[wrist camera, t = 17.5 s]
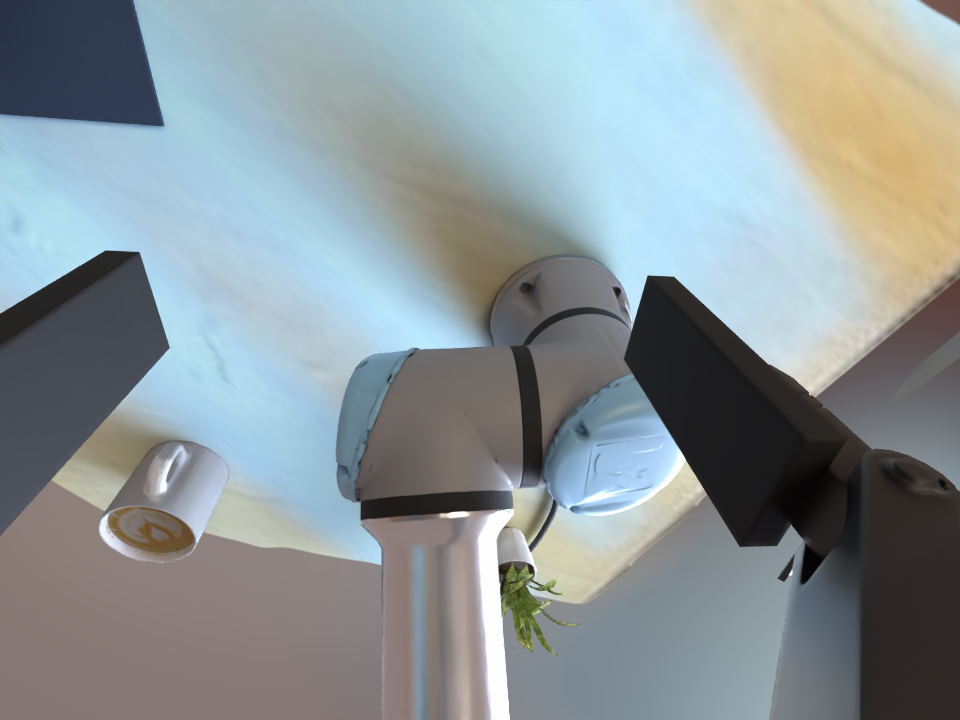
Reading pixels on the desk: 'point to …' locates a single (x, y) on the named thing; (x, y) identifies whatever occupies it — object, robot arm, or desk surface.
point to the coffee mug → (165, 503)
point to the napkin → (75, 62)
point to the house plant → (520, 585)
